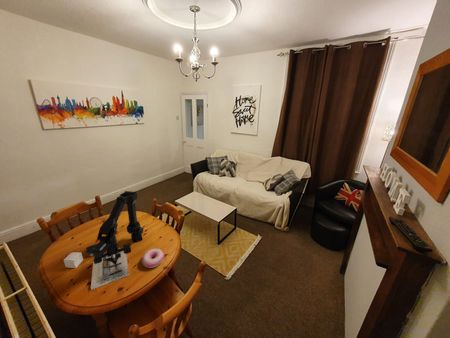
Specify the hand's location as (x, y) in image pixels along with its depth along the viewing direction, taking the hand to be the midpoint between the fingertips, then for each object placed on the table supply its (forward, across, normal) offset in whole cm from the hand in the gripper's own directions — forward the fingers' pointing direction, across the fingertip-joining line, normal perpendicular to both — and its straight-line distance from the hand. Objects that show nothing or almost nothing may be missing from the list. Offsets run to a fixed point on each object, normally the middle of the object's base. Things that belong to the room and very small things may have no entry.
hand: (115, 263), depth 109 cm
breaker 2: (+1, +5, +6) cm, 8 cm away
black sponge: (+3, +8, -21) cm, 22 cm away
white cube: (+3, +22, -15) cm, 26 cm away
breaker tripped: (0, +5, 0) cm, 5 cm away
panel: (+2, +3, 0) cm, 4 cm away
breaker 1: (0, +5, -6) cm, 8 cm away
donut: (+3, -21, +6) cm, 22 cm away
